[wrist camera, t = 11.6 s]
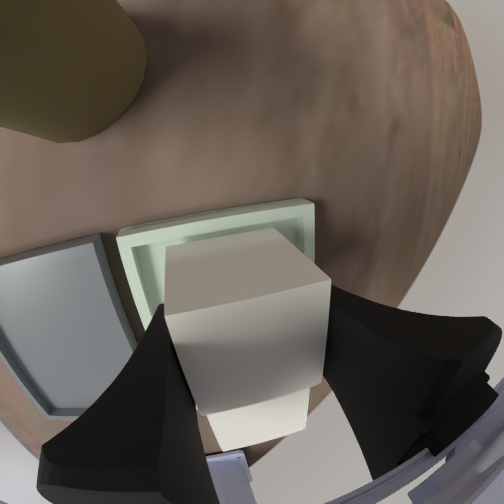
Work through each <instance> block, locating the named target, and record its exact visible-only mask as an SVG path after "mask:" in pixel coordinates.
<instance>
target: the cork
mask: <svg viewBox="0 0 504 504" xmlns="http://www.w3.org/2000/svg"><path fill="white" fill-rule="evenodd" d="M147 60H148V57H147V51H146V44H145V40H144V38H143V36H142V35H141V33H140V31H139V30H138V28H137V27H136V25H135V24H134V22H133V21H132V20H131V19H130V17H129V16H128V15H127V13H126V12H125V11H124V10H123V8H122V7H121V6H120V4H119V3H118V2H117V1H116V0H0V127H4V128H8V129H11V130H15V131H19V132H22V133H26V134H30V135H33V136H37V137H40V138H44V139H47V140H50V141H54V142H57V143H63V142H78V141H81V140H83V139H86V138H88V137H91V136H93V135H96V134H98V133H100V132H101V131H102V130H104V129H105V128H106V127H108V126H109V125H111V124H112V123H113V122H115V121H116V120H118V118H119V117H120V116H121V115H122V114H123V112H124V111H125V110H126V109H127V108H128V107H129V105H130V104H131V103H132V102H133V101H134V99H135V96H136V94H137V92H138V90H139V88H140V86H141V84H142V83H143V81H144V76H145V71H146V65H147Z"/></svg>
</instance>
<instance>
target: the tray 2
mask: <svg viewBox="0 0 504 504" xmlns="http://www.w3.org/2000/svg"><path fill="white" fill-rule="evenodd" d="M272 227H274V228H275V229H276V230H277V231H278V232H279V233H280V234H282V235H283V236H284V237H285V238H286V239H287V240H288V241H289V242H291V243H292V244H293V245H294V246H295V247H296V248H297V249H298V250H300V251H301V252H302V253H303V254H304V255H305V256H306V257H307V258H309V259H310V260H311V261H312V262H313V263H314V264H315V212H314V203H313V202H311V201H308V200H306V199H304V198H302V197H301V198H294V199H286V200H279V201H272V202H265V203H258V204H251V205H245V206H238V207H232V208H226V209H220V210H214V211H208V212H202V213H197V214H191V215H185V216H180V217H175V218H169V219H164V220H159V221H154V222H149V223H144V224H139V225H134V226H129V227H125V228H121V229H120V231H119V233H118V235H117V236H116V240H117V244H118V248H119V252H120V255H121V259H122V262H123V266H124V269H125V273H126V276H127V279H128V282H129V286H130V289H131V292H132V295H133V298H134V301H135V304H136V307H137V310H138V312H139V315H140V318H141V321H142V324H143V326H144V329H145V331H146V329H147V327H148V325H149V323H150V321H151V319H152V317H153V315H154V313H155V311H156V309H157V307H158V306H159V304H163V303H164V283H165V253H166V247H167V246H172V245H177V244H183V243H188V242H193V241H199V240H204V239H209V238H215V237H220V236H226V235H232V234H237V233H243V232H249V231H254V230H260V229H266V228H272ZM196 410H198V408H197V405H196Z"/></svg>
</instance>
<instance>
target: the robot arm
mask: <svg viewBox="0 0 504 504" xmlns="http://www.w3.org/2000/svg"><path fill="white" fill-rule="evenodd" d="M501 336H502V330H501V328H500V327H499V326H498V325H496V324H495V323H494V322H492V321H491V320H490V319H488V318H487V317H483V316H480V317H449V316H437V315H428V314H422V313H416V312H410V311H406V310H401V309H397V308H393V307H390V306H386V305H382V304H379V303H376V302H373V301H370V300H367V299H365V298H362V297H359V296H357V295H354V294H351V293H349V292H347V291H344V290H342V289H339V288H337V287H335V286H333V285H331V293H330V307H329V319H328V330H327V340H326V350H325V359H324V367H323V376H324V378H325V379H326V381H327V382H328V384H329V385H330V387H331V389H332V390H333V392H334V394H335V396H336V398H337V399H338V401H339V403H340V405H341V407H342V409H343V411H344V413H345V415H346V417H347V419H348V421H349V423H350V425H351V428H352V429H353V432H354V434H355V436H356V439H357V441H358V443H359V445H360V448H361V450H362V453H363V455H364V458H365V461H366V463H367V466H368V468H369V471H370V474H371V476H372V479H373V480H374V481H372V482H370V483H368V484H366V485H364V486H362V487H360V488H358V489H356V490H354V491H352V492H350V493H348V494H346V495H343V496H341V497H339V498H337V499H334V500H332V501H329V502H327V503H325V504H375V503H377V502H379V501H381V500H383V499H384V498H386V497H388V496H389V495H391V494H393V493H395V492H396V491H398V490H399V489H401V488H403V487H404V486H406V485H407V484H409V483H410V482H412V481H413V480H415V479H416V478H418V477H419V476H420V475H422V474H423V473H425V472H426V471H427V470H428V469H430V468H431V467H433V466H434V465H435V464H437V463H438V462H439V461H441V460H442V459H443V458H444V457H445V456H446V463H445V464H444V465H442V466H441V467H440V468H439V469H437V470H436V471H435V472H434V473H433V474H431V475H430V476H429V477H428V478H427V479H426V480H424V481H423V482H422V483H421V484H419V485H418V486H417V487H415V488H414V489H412V490H411V491H410V492H408V496H409V498H410V499H411V501H412V504H504V378H503V379H502V380H501V381H500V382H499V383H498V384H497V385H496V387H495V388H494V389H493V388H492V387H491V386H490V385H489V384H488V383H487V382H488V380H489V379H490V377H489V375H488V374H487V373H486V372H485V370H486V368H487V366H488V364H489V363H490V361H491V359H492V357H493V355H494V353H495V352H496V350H497V347H498V345H499V343H500V340H501ZM251 481H252V477H251V474H250V470H249V467H248V464H247V461H246V458H245V454H244V451H243V450H235V451H231V452H226V453H221V454H216V455H210V456H205V452H204V448H203V444H202V440H201V436H200V432H199V427H198V420H197V412H196V403H195V400H194V398H193V395H192V393H191V390H190V388H189V385H188V383H187V380H186V378H185V375H184V372H183V370H182V367H181V364H180V361H179V359H178V356H177V353H176V350H175V347H174V344H173V341H172V338H171V335H170V332H169V329H168V326H167V323H166V320H165V317H164V303H163V304H159V306H158V307H157V309H156V311H155V313H154V315H153V317H152V319H151V321H150V323H149V325H148V327H147V329H146V331H145V333H144V335H143V336H142V338H141V340H140V342H139V344H138V345H137V347H136V349H135V350H134V352H133V353H132V355H131V357H130V358H129V360H128V362H127V363H126V364H125V366H124V367H123V369H122V370H121V372H120V373H119V374H118V376H117V377H116V378H115V380H114V381H113V382H112V383H111V384H110V386H109V387H108V388H107V389H106V390H105V391H104V392H103V393H102V394H101V396H100V397H99V398H98V399H97V400H96V401H95V402H94V403H93V404H92V405H91V406H90V407H89V408H88V409H87V410H86V411H85V412H84V413H83V414H82V415H81V416H79V417H78V418H77V419H76V420H75V421H74V422H73V423H71V424H70V425H69V426H68V427H67V428H65V429H64V430H63V431H61V432H60V433H58V434H57V435H56V436H54V437H53V438H52V439H50V440H49V441H48V442H46V443H45V444H43V445H42V449H41V455H40V461H39V469H38V478H37V490H38V492H39V493H40V494H41V495H42V496H43V497H44V498H45V499H47V500H48V501H50V502H51V503H53V504H257V503H256V500H255V497H254V495H253V492H252V489H251V486H250V483H249V482H251ZM0 504H7V503H5V502H2V501H0Z"/></svg>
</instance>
